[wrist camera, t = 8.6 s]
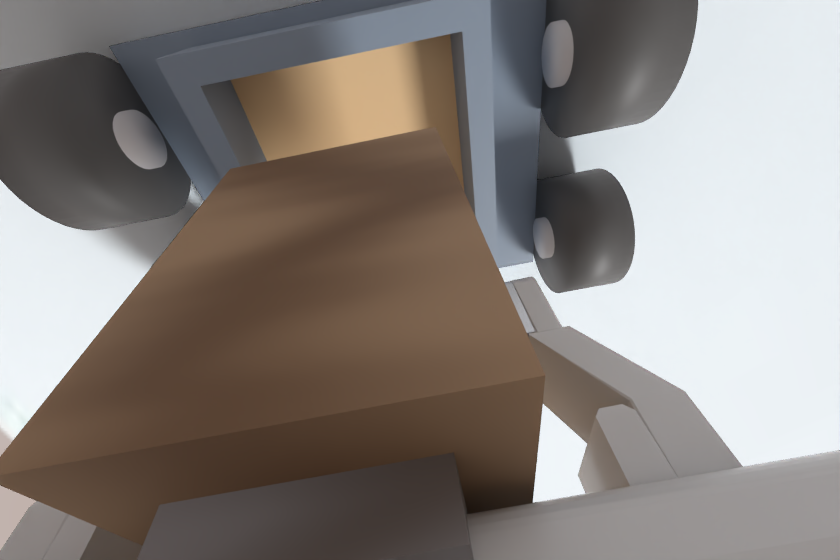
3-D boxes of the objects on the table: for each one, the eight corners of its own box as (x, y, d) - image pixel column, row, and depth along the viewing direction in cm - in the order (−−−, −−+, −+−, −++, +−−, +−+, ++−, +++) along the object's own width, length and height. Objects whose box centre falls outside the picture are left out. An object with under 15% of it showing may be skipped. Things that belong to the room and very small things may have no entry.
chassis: (620, -64, 12) (741, -88, 8) (576, 241, 19) (626, 305, 15) (50, 58, 12) (-100, 92, 8) (228, 306, 20) (192, 384, 16)
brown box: (435, 126, 8) (590, 475, 2) (461, 326, 13) (538, 623, 7) (230, 168, 9) (-111, 596, 3) (326, 351, 13) (285, 664, 7)
